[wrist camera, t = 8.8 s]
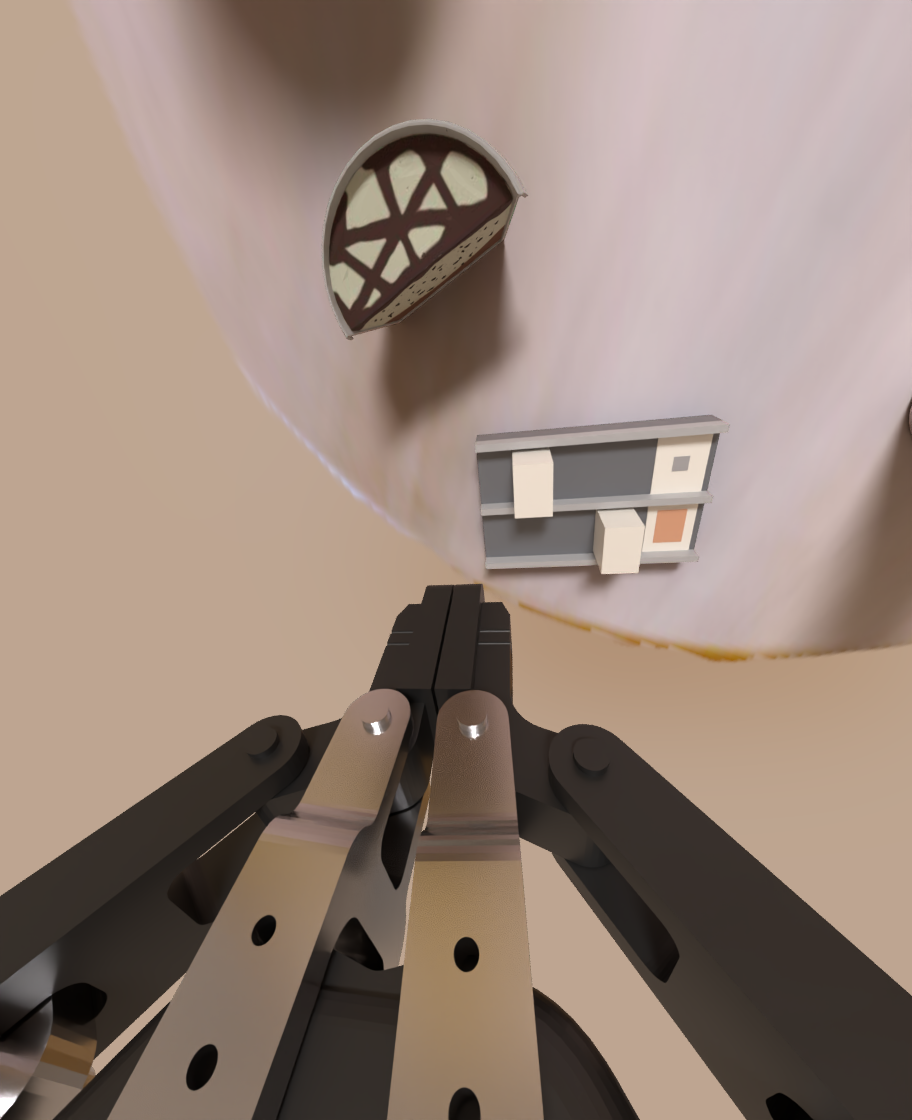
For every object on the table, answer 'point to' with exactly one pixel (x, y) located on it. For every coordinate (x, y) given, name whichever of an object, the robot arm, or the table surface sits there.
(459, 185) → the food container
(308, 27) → the table surface
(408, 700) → the robot arm
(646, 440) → the switch panel
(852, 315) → the table surface
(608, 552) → the far tab
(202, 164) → the table surface
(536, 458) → the near tab
